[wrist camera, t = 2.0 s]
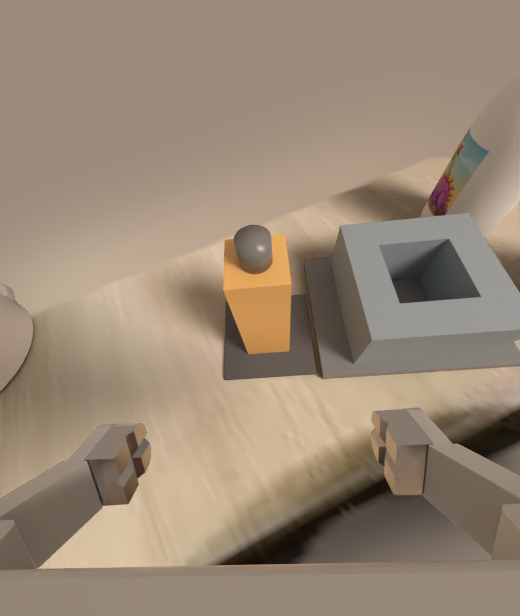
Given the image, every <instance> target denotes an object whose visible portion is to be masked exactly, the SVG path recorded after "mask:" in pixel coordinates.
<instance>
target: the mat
mask: <svg viewBox="0 0 520 616" xmlns="http://www.w3.org/2000/svg"><path fill="white" fill-rule="evenodd" d="M310 374H317V371H316V365H315V358H314V352H313V345H312V339H311V332H310V326H309V319H308V312H307V306H306V299H305V294H304V295H292V296H291V315H290V347H289V351H287V352H273V353H259V354H248V352H247V350H246V347H245V345H244V342H243V339H242V337H241V334H240V332H239V329H238V327H237V324H236V322H235V319H234V317H233V314H232V311H231V309H230V306H229V304H228V301H226V341H225V380H235V379H250V378H265V377H280V376H295V375H310Z"/></svg>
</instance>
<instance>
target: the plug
mask: <svg viewBox="0 0 520 616" xmlns="http://www.w3.org/2000/svg"><path fill="white" fill-rule="evenodd" d="M223 291H224V294H225V296H226V299H227V301H228V304H229V306H230V309H231V311H232V314H233V317H234V319H235V322H236V324H237V327H238V329H239V332H240V334H241V337H242V339H243V342H244V345H245V347H246V350H247V352H248V354H259V353H273V352H287V351H289V347H290V315H291V277H290V269H289V261H288V253H287V245H286V237H285V234H280V235H271V234H270V232H269V231H268V230H267V229H266V228H265V227H263V226H259V225H249V226H246V227H243V228H241V229H240V230H239V231H238V232H237V233H236V234H235V236H234V239H229V240H225V250H224V281H223Z"/></svg>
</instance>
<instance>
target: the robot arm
mask: <svg viewBox="0 0 520 616" xmlns="http://www.w3.org/2000/svg"><path fill="white" fill-rule="evenodd" d="M32 338H33V322H32V319H31V316H30V315H29V313H28V312H27V311H26V310H25V309H24V308H23V307H22V306H20V305H19V304H18V303H17V302H16V301H15V296H14V293H13V290H12V289H11V288H9V287H6V286H4V285H0V391H1V390H2V389H3V388H4V387H5V386H6V385H7V384H8V382H9V381H10V380H11V379H12V378H13V376H14V375H15V374H16V372H17V371H18V370H19V368H20V366H21V365H22V363H23V361H24V360H25V358H26V356H27V353H28V351H29V349H30V346H31V342H32ZM372 423H373V425H374V426H375V428H374V429H373V431H372V432H371V441H372V447H373V451H374V454H375V457H376V459H377V461H378V463H379V464H381V465H382V466H383V467H384V476H385V478H386V480H387V482H388V484H389V486H390V488H391V490H392V492H393V494H394V495H424V497H425V498H426V499H427V500H428V501H429V502H430V503H432V504H433V505H434V506H435V507H436V508H437V509H439V510H440V511H441V512H442V513H443V514H444V515H445V516H446V517H448V518H449V519H450V520H451V521H452V522H453V523H455V524H456V525H457V526H458V527H459V528H460V529H461V530H463V531H464V532H465V533H466V534H467V535H468V536H469V537H471V538H472V539H473V540H474V541H475V542H476V543H477V544H479V545H480V546H481V547H482V548H483V549H484V550H485V551H486V552H488V553H489V554H490V555H491V556H492V558H491V560H481V561H428V562H427V561H425V562H375V563H326V564H277V565H223V566H168V567H116V568H64V569H38V568H39V567H40V566H41V565H42V564H43V563H44V562H45V561H46V560H48V559H49V558H50V557H51V556H52V555H53V554H54V553H55V552H56V551H57V550H58V549H59V548H60V547H61V546H62V545H63V544H64V543H65V542H67V541H68V540H69V539H70V538H71V537H72V536H73V535H74V534H75V533H76V532H77V531H78V530H79V529H80V528H81V527H82V526H83V525H85V524H86V523H87V522H88V521H89V520H90V519H91V518H92V517H93V516H94V515H95V514H96V513H97V512H98V511H99V510H100V509H101V508H102V506H108V505H123V504H129V502H130V500H131V498H132V496H133V494H134V493H135V491H136V489H137V487H138V485H139V483H138V478H139V477H140V476H141V475H143V474H144V473H145V472H146V470H147V468H148V466H149V462H150V458H151V447H150V443H149V442H148V441H147V440H146V439H145V438H144V437H145V436H146V434H147V431H146V428H145V425H143V424H141V423H139V424H115V425H114V424H112V425H101V426H99V427H98V428H97V429H96V430H95V431H94V432H93V433H92V434H91V435H90V436H89V438H88V439H87V440H86V441H85V442H84V443H83V444H82V445H81V446H80V447H79V449H78V450H77V451H76V452H75V453H74V454H73V455H72V456H71V457H70V459H69V460H68V461H67V462H61V463H59V464H58V465H56V466H54V467H53V468H51V469H49V470H48V471H46V472H44V473H43V474H41V475H39V476H37V477H36V478H34V479H32V480H31V481H29V482H27V483H26V484H24V485H22V486H21V487H19V488H17V489H16V490H14V491H12V492H11V493H9V494H7V495H5V496H4V497H2V498H0V616H520V476H519V475H517V474H515V473H513V472H511V471H509V470H507V469H505V468H503V467H502V466H500V465H498V464H496V463H494V462H492V461H490V460H488V459H486V458H484V457H482V456H480V455H478V454H476V453H474V452H473V451H471V450H469V449H467V448H465V447H463V446H461V445H459V444H452V443H451V442H450V441H449V439H448V438H447V437H446V436H445V435H444V434H443V433H442V432H441V430H440V429H439V428H438V427H437V426H436V425H435V424H434V423H433V421H432V420H431V419H430V418H429V417H428V416H427V415H426V414H425V412H424V411H423V410H422V409H420V408H408V409H401V410H384V411H373V413H372Z"/></svg>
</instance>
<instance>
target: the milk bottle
mask: <svg viewBox="0 0 520 616" xmlns="http://www.w3.org/2000/svg"><path fill="white" fill-rule="evenodd" d="M519 201H520V70H519V71H518V72H517V73H516V74H515V75H514V76H513V77H512V78H511V79H510V80H509V81H507V82H506V83H505V84H504V85H503V86H502V87H501V88H500V89H499V90H498V91H497V92H496V93H495V94H494V95H493V96H492V98H491V99H490V100H489V101H488V102H487V104H486V105H485V106H484V107H483V109H482V110H481V112H480V113H479V114H478V116H477V117H476V119H475V120H474V122H473V123H472V125H471V127H470V128H469V130H468V132H467V133H466V135H465V136H464V138H463V140H462V142H461V144H460V145H459V147H458V149H457V150H456V152H455V154H454V155H453V157H452V159H451V161H450V162H449V164H448V166H447V168H446V169H445V171H444V173H443V175H442V176H441V178H440V180H439V182H438V183H437V185H436V187H435V189H434V191H433V192H432V194H431V196H430V198H429V199H428V201H427V203H426V205H425V207H424V209H423V210H422V212H421V215H420V218H423V217H433V216H443V215H453V214H463V213H469V214H470V216H471V218H472V219H473V221H474V222H475V224H476V225H477V227H478V228H479V230H480V232H481V233H482V235H483V236H484V238H485V237H486V236H487V235H488V234H489V233H490V232H491V231H492V230H493V229H494V228H495V227H496V226H497V225H498V224H499V223H500V222H501V221H502V220H503V219H504V217H505V216H506V215H507V214H508V213H509V212H510V211H511V210H512V209H513V208H514V207H515V206H516V205H517V204H518V202H519Z"/></svg>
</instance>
